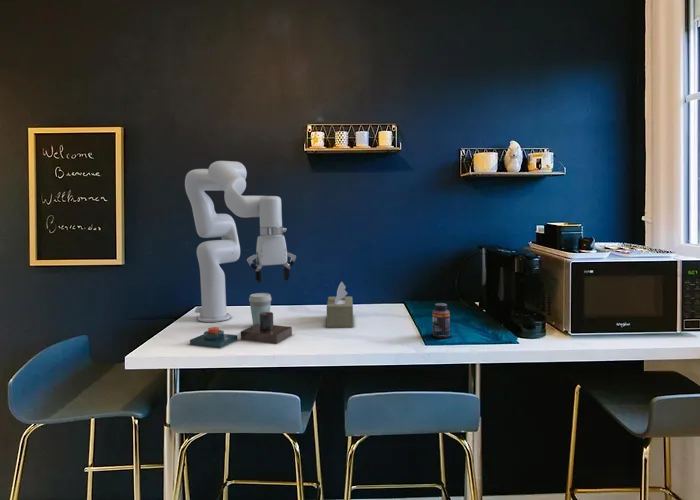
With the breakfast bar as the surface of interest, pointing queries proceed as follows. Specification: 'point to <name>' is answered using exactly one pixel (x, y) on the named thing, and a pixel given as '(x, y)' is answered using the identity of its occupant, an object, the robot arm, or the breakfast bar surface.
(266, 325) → the knob
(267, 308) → the coffee cup
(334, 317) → the tissue box
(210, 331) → the button
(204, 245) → the robot arm
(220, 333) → the button box
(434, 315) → the supplement bottle
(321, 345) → the breakfast bar surface
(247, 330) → the panel
